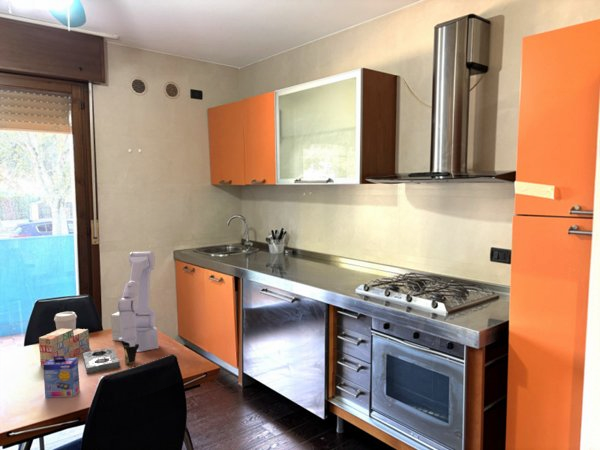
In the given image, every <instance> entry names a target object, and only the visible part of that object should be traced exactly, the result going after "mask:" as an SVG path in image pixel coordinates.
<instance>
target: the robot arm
mask: <svg viewBox="0 0 600 450" xmlns="http://www.w3.org/2000/svg"><path fill="white" fill-rule="evenodd" d="M155 260H156V259H155V253H154V252H153V250H152V251H131V252H130V253H129V256H128V261H129V262H128V263H129V266H130V268H131V270H130V276H129V281H128V282H126V283H125V286H124V289H123V293H122V297H121V298H120V299H119V300H118V301H117V310H118V311H117V312H119V315H120V317H121V331H122V337H121V338H119V341H120V342H121V344H122V347H123V350H124V352H125V350H126V352H127V356H128V360H129V362H134V361H135V359H136V357H137V356H136V355H137V353H141V352H145V351H149V350H151V351H152V350H155V349H159V335H158V334H159V333H158V329H157V328H158V327H156V323H157V320H156V319H157V318H156V311H155V310H154V309H152V307H150V293H151V292H150V291H151V289H150V287H151V273H152V272H151V271H153V270H154V269H155V266H156V265H155V262H156V261H155Z"/></svg>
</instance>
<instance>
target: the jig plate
mask: <svg viewBox="0 0 600 450" xmlns="http://www.w3.org/2000/svg"><path fill="white" fill-rule="evenodd" d="M82 359H83V363H84V367H85V371H86V374H87V375H90V374H94V373H100V372H104V371H109V370H113V369H114V370H115V369H119V368H120V367H121V365H120V363H121V362H120V360H119V357H118V355H117V353H116V351H115V349H114V347H109V348H104V349H103V348H102V349H97V350H91V351H84V352H82Z"/></svg>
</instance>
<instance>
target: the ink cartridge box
mask: <svg viewBox="0 0 600 450" xmlns="http://www.w3.org/2000/svg"><path fill="white" fill-rule="evenodd" d="M53 358H54V359H49V360H48V361H47V362H46V363H44V364H43V366H42V370H43V381H44V382H43V384H44V395H45V396H44V397H45V399H49V398H50V399H51V398H52V399H53V398H73V397H75V395H77V394H78V393H79V392H80V391H81V387H80V375H79V373H80V372H79V361H78V360H79V359H78V357H73V358H66V359H65V358H64V356H53ZM56 358H59V359H56ZM61 358H63V359H61Z"/></svg>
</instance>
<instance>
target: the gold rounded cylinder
mask: <svg viewBox="0 0 600 450" xmlns="http://www.w3.org/2000/svg"><path fill="white" fill-rule="evenodd" d="M124 362H125V366H132V365H135V364H136V358H135V361H134V362H129V360H128V356H127V352H126V350H125V351H124Z"/></svg>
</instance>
